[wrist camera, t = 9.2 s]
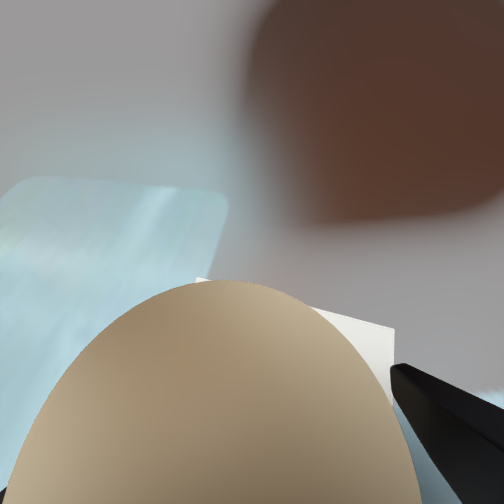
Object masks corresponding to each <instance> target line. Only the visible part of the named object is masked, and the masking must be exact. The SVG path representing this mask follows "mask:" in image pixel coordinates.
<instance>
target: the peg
mask: <svg viewBox="0 0 504 504" xmlns="http://www.w3.org/2000/svg"><path fill="white" fill-rule="evenodd" d="M2 504H422V499H421V493H420V487H419V483H418V480H417V476H416V472H415V469H414V465H413V461H412V458H411V454H410V450H409V447H408V445H407V442H406V440H405V437H404V434H403V432H402V429H401V426H400V424H399V421H398V419H397V416H396V414H395V412H394V410H393V408H392V406H391V404H390V402H389V400H388V398H387V396H386V394H385V392H384V390H383V388H382V386H381V385H380V383H379V382H378V380H377V378H376V377H375V375H374V374H373V372H372V371H371V369H370V367H369V366H368V364H367V363H366V362H365V360H364V359H363V358H362V356H361V355H360V354H359V353H358V351H357V350H356V349H355V348H354V346H353V345H352V344H351V343H350V342H349V341H348V339H347V338H346V337H345V336H344V335H343V334H342V333H341V332H340V331H339V330H338V329H337V328H336V327H335V326H334V325H333V324H331V323H330V322H329V321H328V320H326V319H325V318H324V317H323V316H321V315H320V314H319V313H318V312H317V311H315V310H314V309H312V308H310V307H309V306H307V305H306V304H304V303H302V302H301V301H299V300H297V299H296V298H293V297H291V296H289V295H287V294H285V293H283V292H281V291H278V290H275V289H272V288H269V287H266V286H263V285H259V284H254V283H249V282H244V281H231V280H215V281H203V282H198V283H192V284H187V285H184V286H180V287H177V288H173V289H170V290H168V291H165V292H163V293H161V294H158V295H156V296H153V297H151V298H150V299H148V300H146V301H144V302H142V303H140V304H139V305H137V306H135V307H133V308H132V309H130V310H129V311H128V312H126V313H125V314H123V315H122V316H120V317H119V318H117V319H116V320H115V321H114V322H113V323H111V324H110V325H109V326H108V327H107V328H105V329H104V330H103V331H102V332H101V333H99V335H98V336H97V337H96V338H95V339H94V340H93V341H92V342H91V343H90V344H89V345H88V346H87V347H86V348H85V349H84V350H83V351H82V352H81V353H80V354H79V355H78V357H77V358H76V359H75V360H74V362H73V363H72V364H71V365H70V366H69V368H68V369H67V370H66V371H65V373H64V374H63V376H62V377H61V378H60V380H59V381H58V383H57V384H56V386H55V387H54V389H53V390H52V391H51V393H50V395H49V396H48V398H47V400H46V401H45V403H44V405H43V407H42V408H41V410H40V412H39V413H38V415H37V417H36V419H35V421H34V423H33V425H32V427H31V429H30V431H29V433H28V435H27V437H26V440H25V442H24V444H23V446H22V448H21V450H20V453H19V456H18V458H17V461H16V464H15V466H14V469H13V472H12V474H11V477H10V479H9V482H8V486H7V489H6V493H5V496H4V500H3V503H2Z"/></svg>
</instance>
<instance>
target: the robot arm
mask: <svg viewBox="0 0 504 504" xmlns="http://www.w3.org/2000/svg"><path fill="white" fill-rule="evenodd" d="M390 382H391V391H392V394H393V396H394V398H395V400H396V402H397V403H398V405H399V407H400V408H401V410H402V412H403V413H404V415H405V417H406V418H407V420H408V422H409V423H410V425H411V427H412V428H413V430H414V432H415V434H416V435H417V437H418V439H419V440H420V442H421V444H422V445H423V447H424V449H425V450H426V452H427V453H428V455H429V457H430V458H431V460H432V461H433V463H434V464H435V466H436V467H437V468H438V470H439V471H440V473H441V474H442V476H443V477H444V478H445V480H446V481H447V483H448V484H449V485H450V487H451V488H452V490H453V491H454V492H455V494H456V495H457V497H458V498H459V499H460V501H461V502H462V504H504V409H502V408H500V407H497V406H495V405H493V404H491V403H489V402H487V401H485V400H483V399H480V398H478V397H476V396H474V395H472V394H470V393H468V392H466V391H463V390H461V389H459V388H456V387H455V386H453V385H450V384H449V383H446V382H444V381H442V380H440V379H438V378H436V377H434V376H431V375H429V374H427V373H425V372H423V371H421V370H419V369H417V368H414V367H412V366H410V365H408V364H406V363H401V364H396V365H392V366H391V367H390ZM6 489H7V487H6V488H4V489H3V490H2V491H1V492H0V504H2V503H3V500H4V496H5V493H6Z"/></svg>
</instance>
